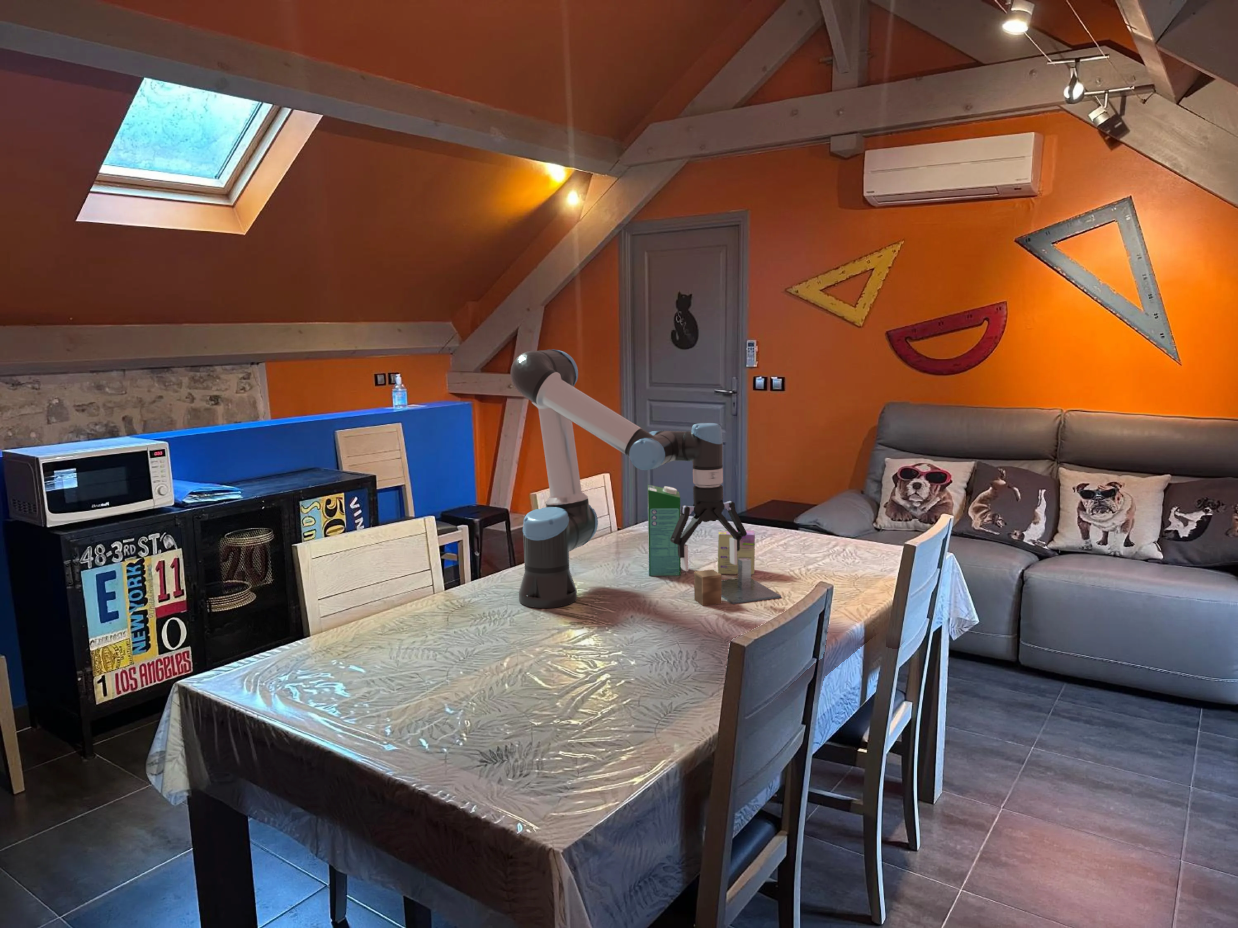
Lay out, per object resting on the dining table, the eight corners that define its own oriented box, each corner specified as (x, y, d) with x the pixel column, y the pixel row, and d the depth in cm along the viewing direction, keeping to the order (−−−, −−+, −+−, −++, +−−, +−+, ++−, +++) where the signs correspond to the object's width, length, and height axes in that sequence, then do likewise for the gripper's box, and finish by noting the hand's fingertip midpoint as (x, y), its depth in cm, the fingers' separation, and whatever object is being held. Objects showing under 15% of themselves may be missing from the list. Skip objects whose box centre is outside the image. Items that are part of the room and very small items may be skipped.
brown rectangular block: (702, 605, 217) (702, 576, 216) (694, 599, 222) (694, 571, 221) (721, 603, 219) (721, 574, 218) (712, 597, 224) (712, 569, 223)
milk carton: (680, 575, 244) (680, 489, 240) (649, 575, 244) (648, 489, 240) (679, 566, 253) (678, 483, 249) (648, 567, 253) (647, 483, 249)
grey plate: (732, 603, 219) (732, 573, 217) (703, 584, 235) (703, 556, 234) (780, 597, 223) (781, 567, 222) (748, 579, 240) (749, 551, 239)
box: (753, 569, 250) (754, 529, 248) (754, 574, 244) (755, 534, 242) (717, 568, 251) (717, 529, 249) (717, 574, 245) (718, 534, 243)
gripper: (667, 491, 208) (669, 576, 212) (759, 482, 216) (760, 564, 219) (656, 486, 215) (658, 568, 219) (745, 478, 223) (746, 557, 227)
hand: (709, 566), depth 219 cm, fingers open, 13 cm apart
